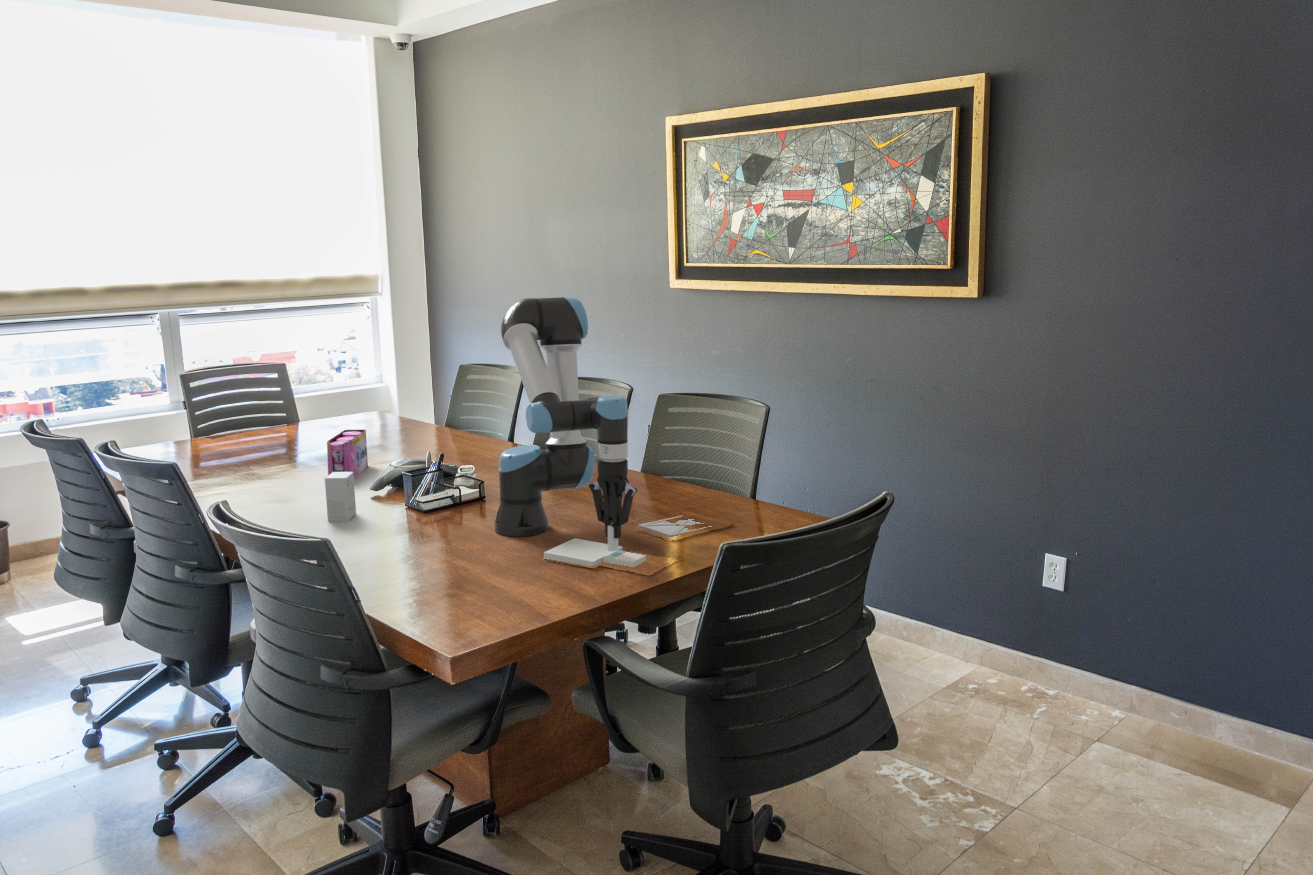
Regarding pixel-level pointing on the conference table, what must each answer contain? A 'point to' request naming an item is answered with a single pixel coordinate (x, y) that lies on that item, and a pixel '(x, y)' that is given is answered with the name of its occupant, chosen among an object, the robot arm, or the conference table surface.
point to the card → (624, 558)
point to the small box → (340, 496)
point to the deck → (579, 552)
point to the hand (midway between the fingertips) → (613, 549)
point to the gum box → (347, 452)
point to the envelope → (670, 527)
